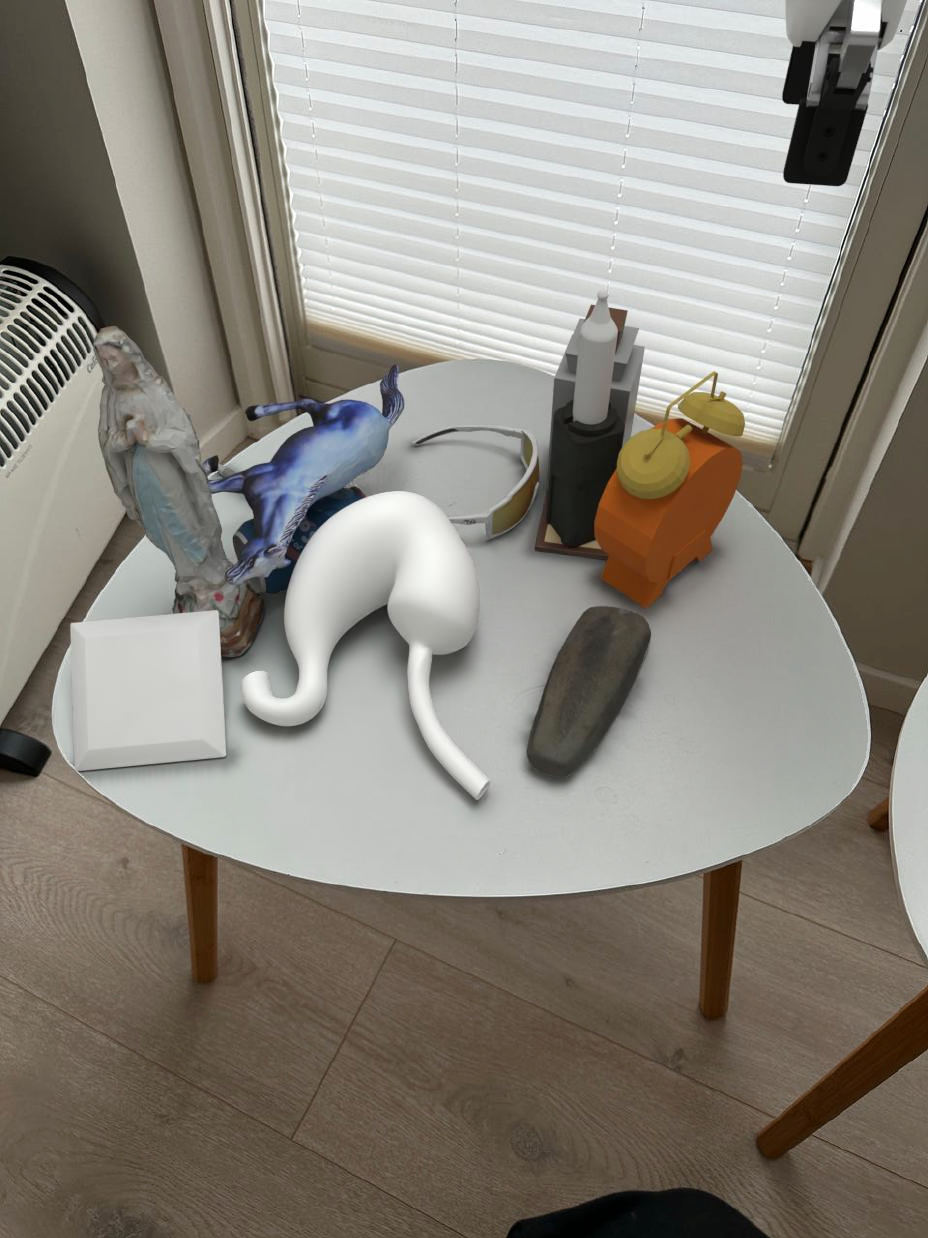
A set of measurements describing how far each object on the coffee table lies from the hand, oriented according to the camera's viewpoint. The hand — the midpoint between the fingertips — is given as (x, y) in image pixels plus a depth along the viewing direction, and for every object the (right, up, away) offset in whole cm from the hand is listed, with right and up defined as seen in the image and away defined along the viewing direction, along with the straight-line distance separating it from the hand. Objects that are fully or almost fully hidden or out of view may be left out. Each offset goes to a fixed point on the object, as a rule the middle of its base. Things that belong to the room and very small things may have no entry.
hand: (810, 140), depth 52 cm
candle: (-8, -18, +38) cm, 43 cm away
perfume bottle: (-7, -12, +42) cm, 44 cm away
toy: (-38, -11, +34) cm, 53 cm away
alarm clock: (-2, -22, +35) cm, 41 cm away
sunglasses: (-19, -14, +42) cm, 48 cm away
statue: (-41, -27, +31) cm, 59 cm away
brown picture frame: (-8, -15, +40) cm, 44 cm away
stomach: (-25, -31, +28) cm, 48 cm away
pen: (-39, -14, +42) cm, 59 cm away
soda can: (-39, -22, +30) cm, 54 cm away
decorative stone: (-9, -34, +26) cm, 43 cm away
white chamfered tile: (-45, -32, +22) cm, 60 cm away
